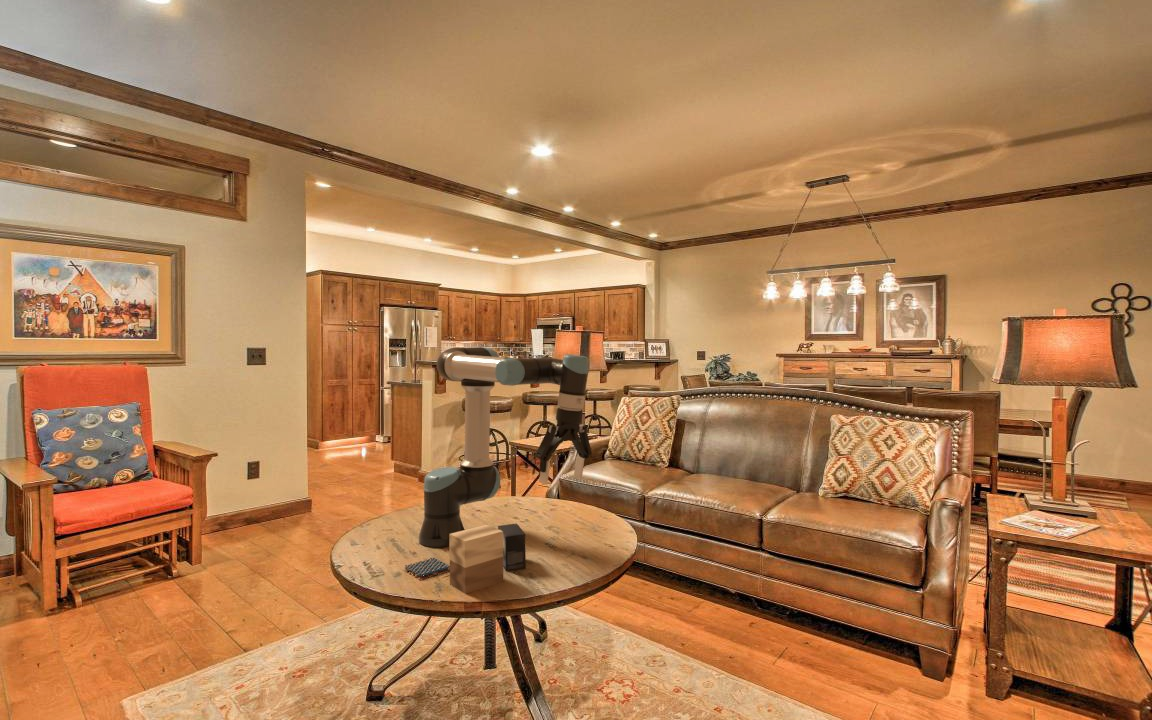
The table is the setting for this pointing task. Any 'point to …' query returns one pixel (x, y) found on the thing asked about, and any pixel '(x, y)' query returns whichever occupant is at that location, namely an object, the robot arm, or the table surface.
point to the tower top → (475, 545)
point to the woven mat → (427, 568)
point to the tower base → (476, 575)
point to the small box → (513, 547)
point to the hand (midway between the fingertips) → (560, 481)
